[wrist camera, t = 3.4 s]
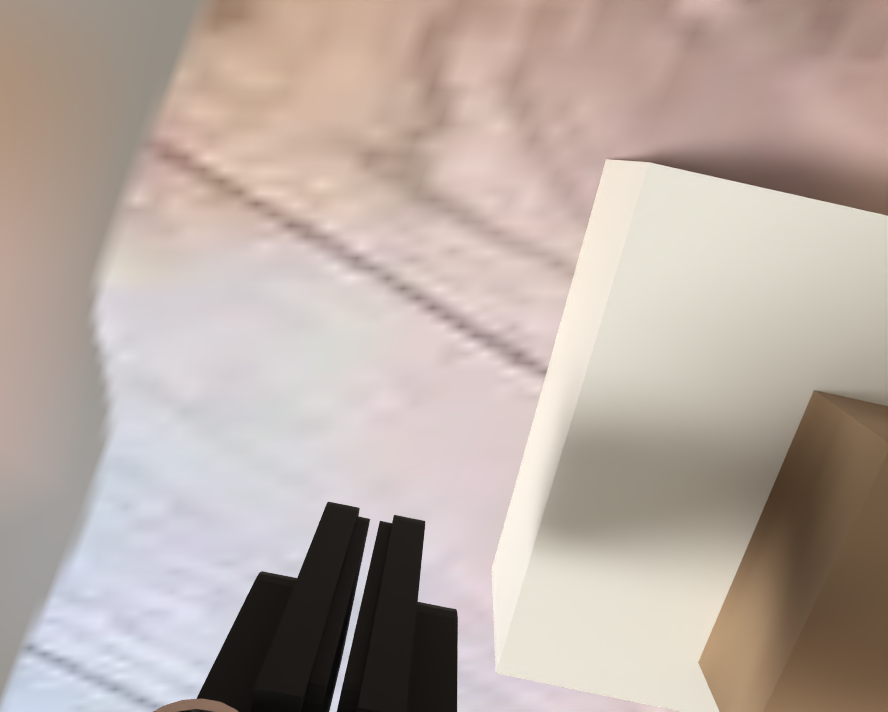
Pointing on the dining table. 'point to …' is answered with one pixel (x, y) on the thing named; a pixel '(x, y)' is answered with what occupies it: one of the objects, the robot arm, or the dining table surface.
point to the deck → (675, 420)
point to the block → (813, 576)
